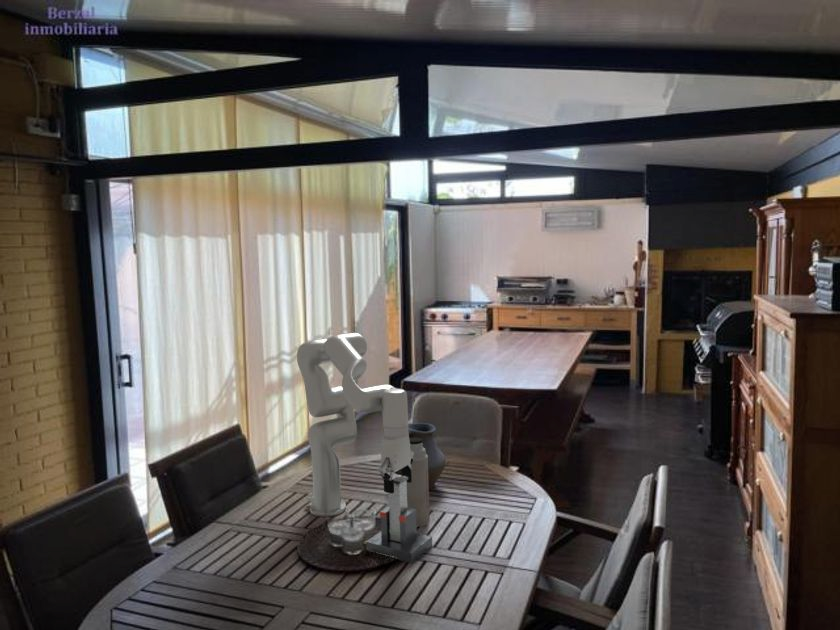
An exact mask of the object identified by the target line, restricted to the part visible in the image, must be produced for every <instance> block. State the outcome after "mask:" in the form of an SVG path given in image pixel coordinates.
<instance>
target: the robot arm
mask: <svg viewBox="0 0 840 630" xmlns="http://www.w3.org/2000/svg"><path fill="white" fill-rule="evenodd" d="M367 349H368V344H367V340H366V339H365V337H364V336H363V335H362V334H360V333H358V332H350V333H343V334H336V335H335V334H334V335H332V336H330V337H328V338H321V339H314V340H308V341H305V342H303V343H302V344H300V345H299V347H298V349H297V352H296V362H297V366H298V369H299V372H300V373H301V376H302V379H303V385H304V391H305V396H306V397H305V398H306V405H307V409H308V413H309V414H310V415H311V417H312V418H324V417H329V416H333V415H336V417H335V418H330V419H326V420H320V421H318V422H314V423H313V424H311V426H309V428H308V429H307V440H308V444H309V449H310V454H311V468H312V469H311V470H312V471H311V472H312V489H313V490H312V492H309V493H308V496H307V497H306V499H305V500H306V501H307V502H311V505H310V507H309V512H310V513H311V515H314V516H317V517H332V516H336V515H340V514H342V513H343V512H345V511H346V510H347V504H346V503H345V502H344V501H343V500H342V486H341V485H342V482H341V464H340V463H341V461H340V458H339V455H338V453H336V451H335V450H334V449H333V448H336V447H338V446H341V445H346V444H349V443H352V442H353V441H354V440H355V439H356V438H357V434H358V428H357V427H358V426H357V420H356V414H355V412H357V413H359V414H362V415H365V414H369V413H375V412H380V411H381V413H382V415H381V416H382V435H383V437H382V438H381V439H382V440H381V446H380V450H381V451H380V466H379V468H378V471H379V474H380V477H381V478H382V481H383V492H384V493H387V494H388V493H392V494H393V493H394V480H392V478H393V475H394V474H395V472H396V471H398V470H400V469H402V475H403V476H408V480H407V482H409V483H410V482H412V476H411V469H412V462H413V459H412V458H413V455H414V452H413V451H411V449H410V440H409V430H408V424H409V412H408V410H409V407H408V406H409V405H408V393H407V392H406V390H404V389H403V388H397V387H395V386H393V385H391V384H379V385H375V386H369V387H364V388H361V387H360V386H359V385H358V384H357V383H356V381H358V380H359V379H360V378H361V377H362V376H363V375H364V374H365V372H366V370H367V366H368V365H367V361H366V360H365V358H364V355H366V353H367ZM331 363H332V364H333V366H335V368H336V369H337V371H339V372H340V374H341V375H342V380H341V385H338V386H337V385H336V386H332V387H331V386H330V380H329V375H328V373H327V372H326V371H325V369H324V368H323V367H322V366H321V365H323V364H331ZM389 473H390V474H389Z"/></svg>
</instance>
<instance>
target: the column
mask: <svg viewBox="0 0 840 630" xmlns="http://www.w3.org/2000/svg"><path fill="white" fill-rule="evenodd" d="M392 480H394V493H393V494H392V493H387V495H388V506H389V526H390V529H389V533H390V540H394V541H398V542H400V521H399V516H400V515H401V514H403V513H404V512H406V511H407V480H408V476H403V475H397V474H396V473H394V475H393V478H392Z"/></svg>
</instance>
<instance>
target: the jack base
mask: <svg viewBox="0 0 840 630" xmlns="http://www.w3.org/2000/svg"><path fill="white" fill-rule="evenodd" d="M379 517H380V531H378V533H376V534H375V535H373V536H372V537H370V538H369V539H367V540H366V541H365V548H366V549H365V550H369V551H374V552H378V553H382V554H386V555H391V556H395V557H397V558H398V561H400V562H401V561H402V562H405V563H407V564H408V563H410V564H412V563H414V562H415V561H416V560H418V559H419V558H420V557H422V555H423V554H425V553H427V551H428V550H430V549H431V548H432V547H433V536H431V535H426V534H423V533H418V532H417V527H416V509H411V508H410V509H408V510H407V511H406V512H404V513H403V514H401V515H400V516H399V521H400V542H398V541H394V540H390V533H389V529H390V526H389V505H388V506H387V507H385V508H383V509H382V510H380V511H379Z"/></svg>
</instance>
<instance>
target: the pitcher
mask: <svg viewBox="0 0 840 630" xmlns="http://www.w3.org/2000/svg"><path fill="white" fill-rule="evenodd" d="M436 429H437V428H436V427H435V426H434V425H433V424H431V423H427V422H426V423H424V422H414V423H413V422H412V423H408V430H409V439H410V438H421V439H422V444H423V447H424V448H425V451H426V454H427V455H428V483H429V490H431V489H433V487H434V486H435V484H436V483H437V481H438V480H439V478H440V477H441V475H442V473H443V471H444V469H445V467H446V463H447V459H446V456H445V454H444V453H443V452H442V451H441V449H439V447H438V446H437V442H436V440H435V438H434V436H433V434H434V433H435V432H436ZM394 474H397V475H402V469H400V470H398V471H396V472H394Z"/></svg>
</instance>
